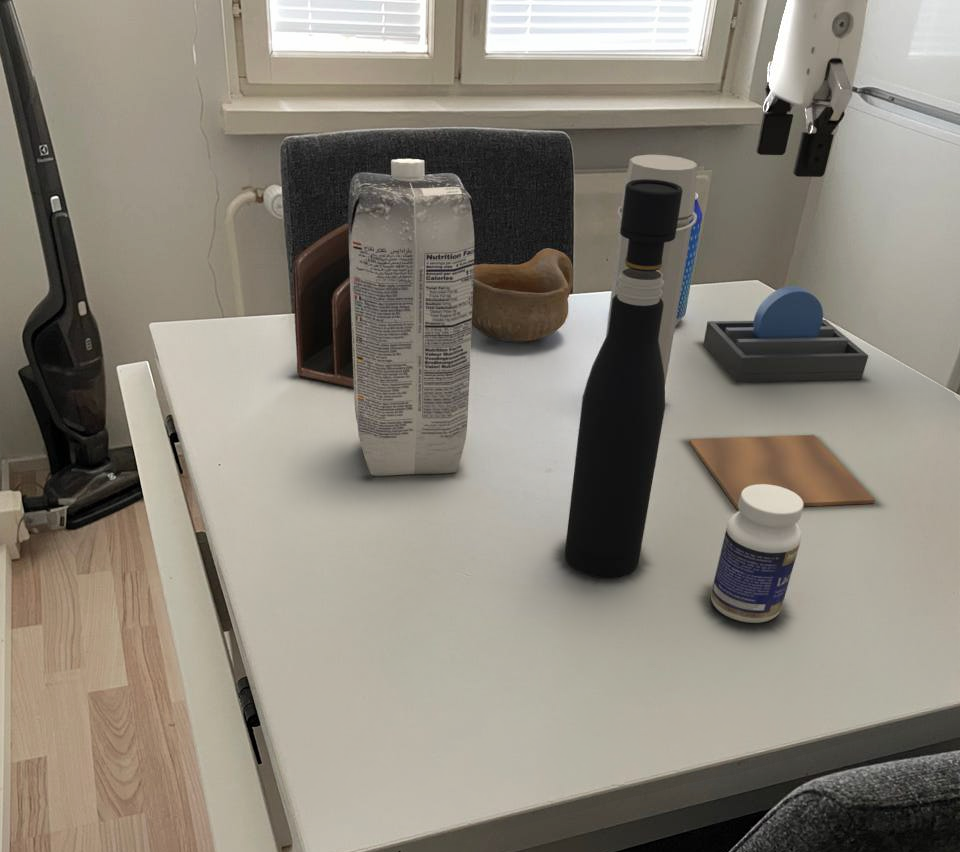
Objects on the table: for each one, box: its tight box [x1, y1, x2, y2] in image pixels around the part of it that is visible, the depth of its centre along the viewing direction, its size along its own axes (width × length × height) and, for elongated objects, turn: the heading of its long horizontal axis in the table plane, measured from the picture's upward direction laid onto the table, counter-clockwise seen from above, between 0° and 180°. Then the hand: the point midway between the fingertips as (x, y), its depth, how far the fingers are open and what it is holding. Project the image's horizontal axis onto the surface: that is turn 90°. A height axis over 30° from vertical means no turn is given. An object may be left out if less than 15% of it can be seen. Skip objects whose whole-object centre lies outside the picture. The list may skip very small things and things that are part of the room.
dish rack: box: [703, 319, 869, 383], centre depth 122 cm, size 16×12×4 cm
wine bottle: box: [564, 179, 683, 579], centre depth 76 cm, size 6×6×30 cm
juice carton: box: [347, 158, 475, 477], centre depth 90 cm, size 9×10×27 cm
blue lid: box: [753, 285, 824, 339], centre depth 120 cm, size 8×2×8 cm, turn 99°
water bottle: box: [605, 154, 698, 385], centre depth 103 cm, size 9×8×25 cm
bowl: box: [472, 247, 574, 343], centre depth 125 cm, size 18×14×10 cm
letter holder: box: [292, 222, 354, 389], centre depth 115 cm, size 10×20×14 cm, turn 159°
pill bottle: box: [710, 484, 804, 624], centre depth 78 cm, size 6×6×10 cm
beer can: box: [675, 191, 703, 327], centre depth 128 cm, size 8×8×16 cm
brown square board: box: [688, 434, 876, 510], centre depth 99 cm, size 14×14×1 cm
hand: (788, 164), depth 105 cm, fingers open, 9 cm apart
